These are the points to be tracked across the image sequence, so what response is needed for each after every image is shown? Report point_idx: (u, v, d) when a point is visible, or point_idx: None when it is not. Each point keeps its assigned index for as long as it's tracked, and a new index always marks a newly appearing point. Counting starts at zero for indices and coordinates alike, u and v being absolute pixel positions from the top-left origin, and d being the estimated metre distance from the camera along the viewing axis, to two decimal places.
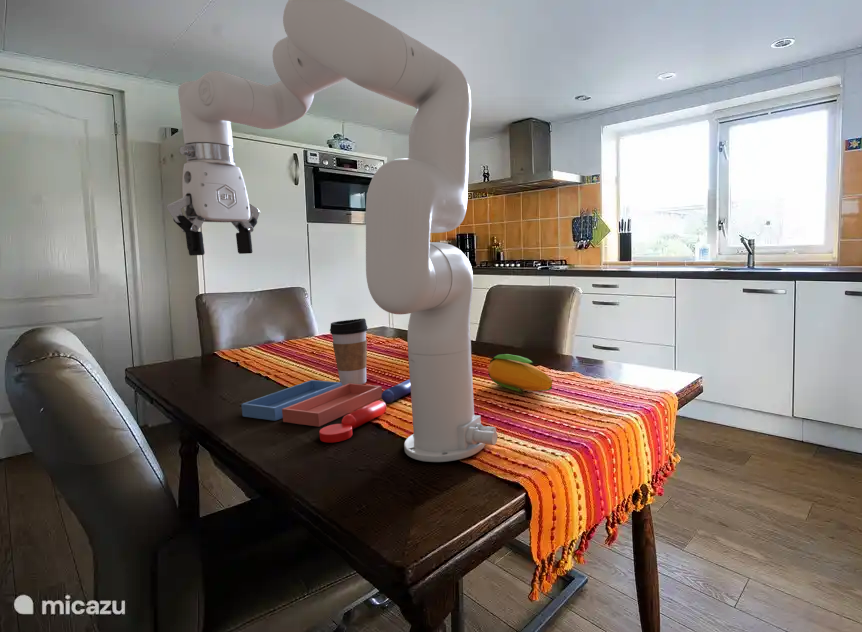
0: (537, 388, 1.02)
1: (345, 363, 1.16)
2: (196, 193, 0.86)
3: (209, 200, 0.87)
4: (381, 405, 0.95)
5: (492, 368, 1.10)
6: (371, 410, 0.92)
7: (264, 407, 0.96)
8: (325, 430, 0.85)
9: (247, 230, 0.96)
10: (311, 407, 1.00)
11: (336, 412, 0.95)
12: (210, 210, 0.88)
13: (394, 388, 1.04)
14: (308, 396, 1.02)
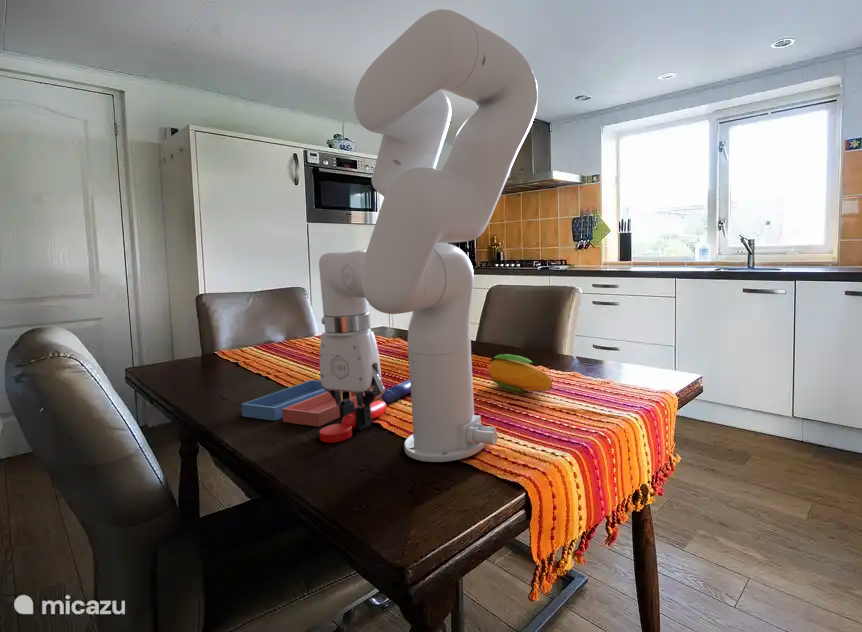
0: (537, 388, 1.02)
1: None
2: None
3: (325, 371, 0.87)
4: (381, 405, 0.95)
5: (492, 368, 1.10)
6: (371, 410, 0.92)
7: (264, 407, 0.96)
8: (325, 430, 0.85)
9: None
10: (311, 407, 1.00)
11: (336, 412, 0.95)
12: (326, 380, 0.88)
13: (394, 388, 1.04)
14: (308, 396, 1.02)
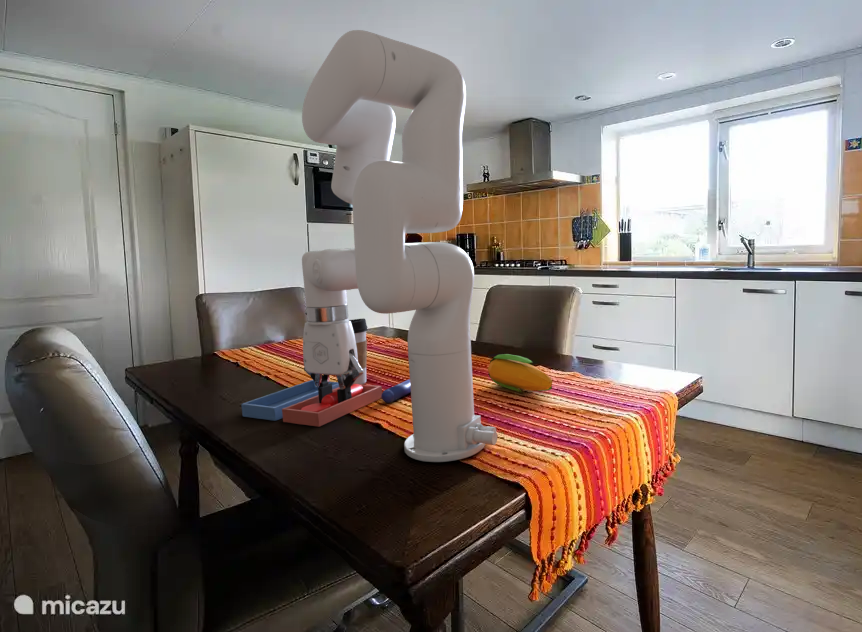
0: (537, 388, 1.02)
1: None
2: None
3: (308, 356, 0.98)
4: (358, 388, 1.05)
5: (492, 368, 1.10)
6: None
7: (264, 407, 0.96)
8: (306, 408, 0.95)
9: None
10: None
11: (336, 412, 0.95)
12: (308, 365, 0.98)
13: (394, 388, 1.04)
14: (308, 396, 1.02)
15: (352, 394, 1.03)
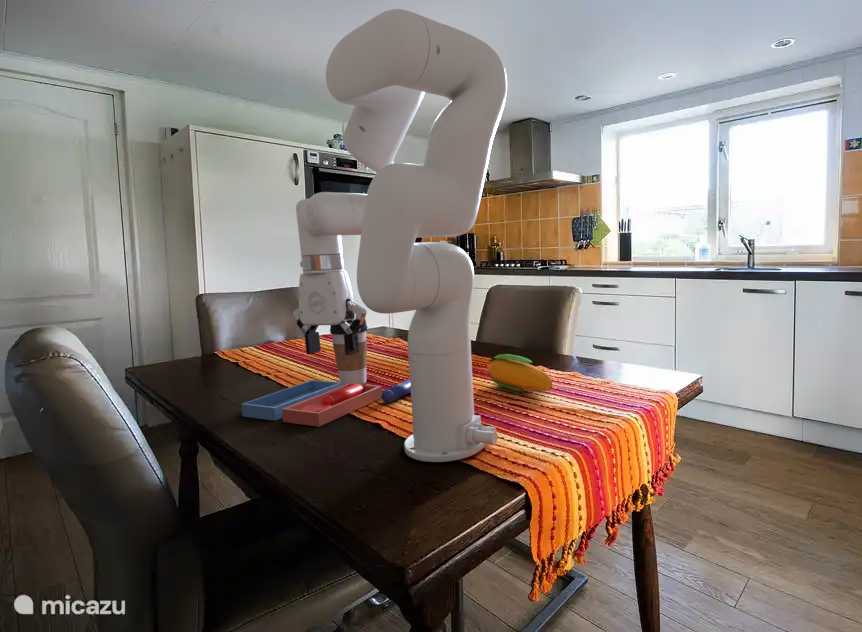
0: (537, 388, 1.02)
1: (345, 363, 1.16)
2: None
3: (304, 308, 0.96)
4: (358, 388, 1.05)
5: (492, 368, 1.10)
6: (348, 391, 1.03)
7: (264, 407, 0.96)
8: (306, 408, 0.95)
9: None
10: None
11: (336, 412, 0.95)
12: (304, 317, 0.97)
13: (394, 388, 1.04)
14: (308, 396, 1.02)
15: (352, 394, 1.03)
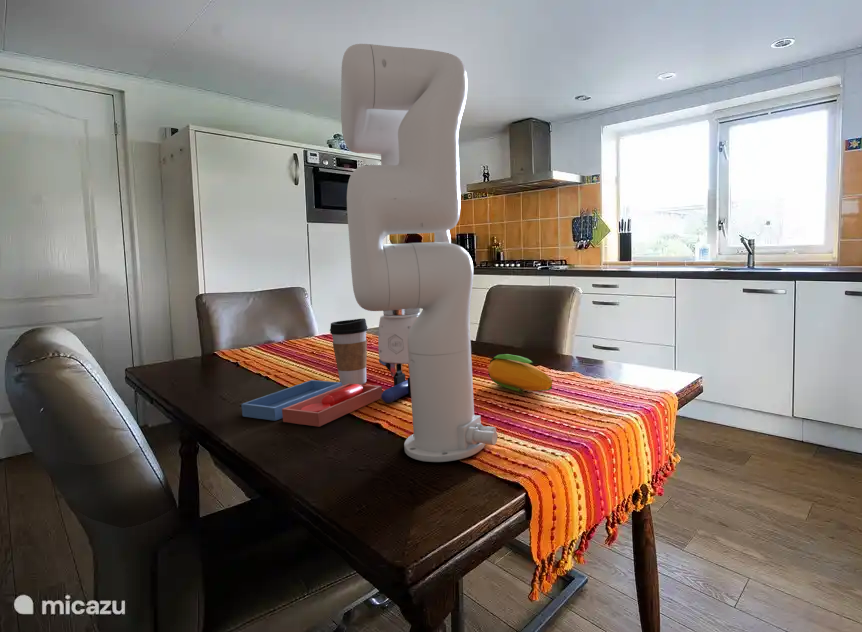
0: (537, 388, 1.02)
1: (345, 363, 1.16)
2: None
3: (383, 347, 1.07)
4: (358, 388, 1.05)
5: (492, 368, 1.10)
6: (348, 391, 1.03)
7: (264, 407, 0.96)
8: (306, 408, 0.95)
9: None
10: None
11: (336, 412, 0.95)
12: (383, 355, 1.07)
13: (394, 388, 1.04)
14: (308, 396, 1.02)
15: (352, 394, 1.03)
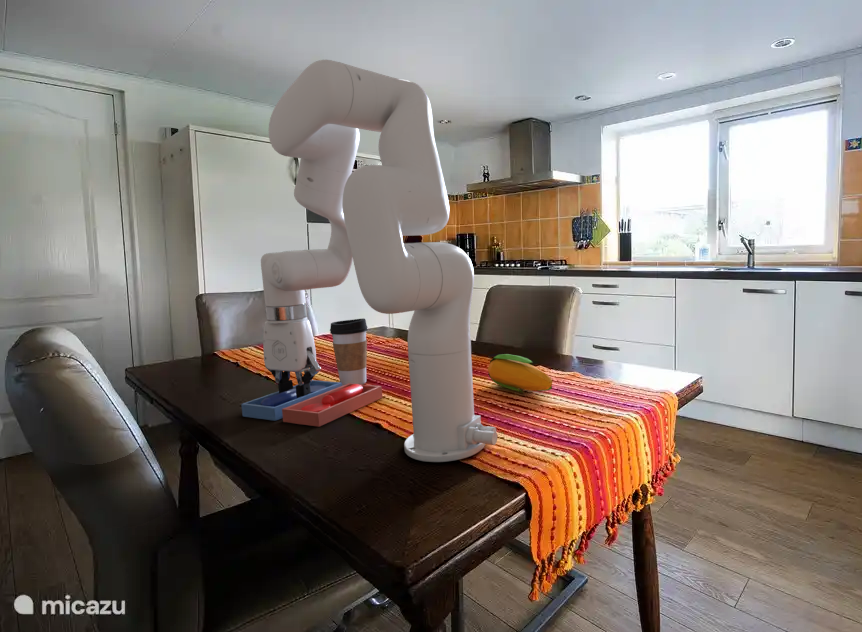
0: (537, 388, 1.02)
1: (345, 363, 1.16)
2: None
3: (267, 354, 1.02)
4: (358, 388, 1.05)
5: (492, 368, 1.10)
6: (348, 391, 1.03)
7: (264, 407, 0.96)
8: (306, 408, 0.95)
9: None
10: None
11: (336, 412, 0.95)
12: (268, 362, 1.02)
13: (275, 396, 1.00)
14: (308, 396, 1.02)
15: (352, 394, 1.03)
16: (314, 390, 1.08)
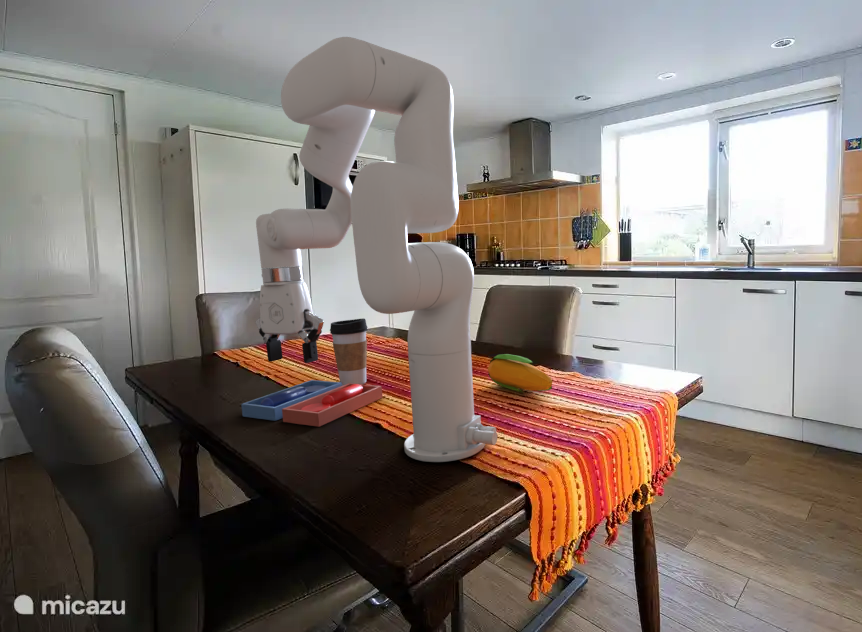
0: (537, 388, 1.02)
1: (345, 363, 1.16)
2: None
3: (264, 317, 1.01)
4: (358, 388, 1.05)
5: (492, 368, 1.10)
6: (348, 391, 1.03)
7: (264, 407, 0.96)
8: (306, 408, 0.95)
9: None
10: None
11: (336, 412, 0.95)
12: (265, 326, 1.01)
13: (275, 396, 1.00)
14: (308, 396, 1.02)
15: (352, 394, 1.03)
16: (314, 390, 1.08)
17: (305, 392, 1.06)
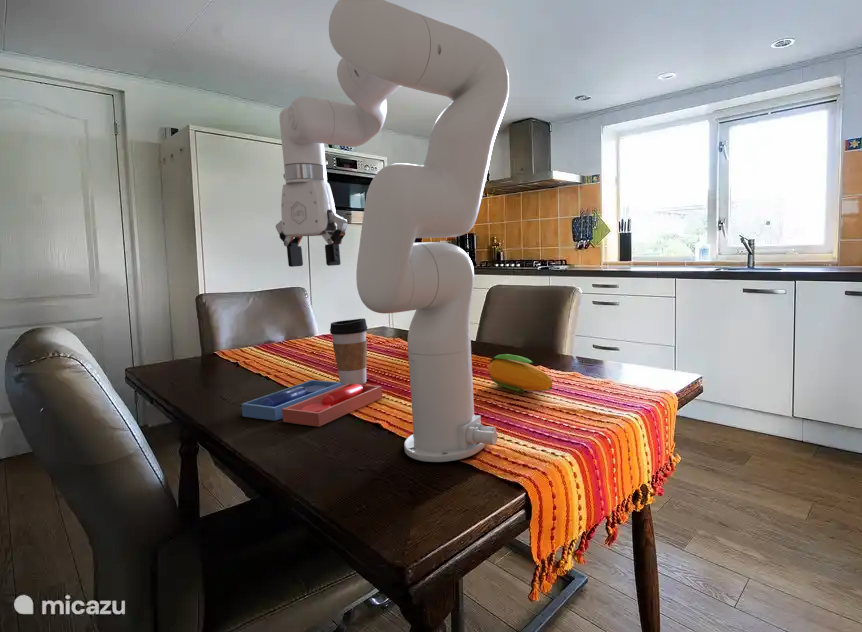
0: (537, 388, 1.02)
1: (345, 363, 1.16)
2: None
3: (286, 218, 0.98)
4: (358, 388, 1.05)
5: (492, 368, 1.10)
6: (348, 391, 1.03)
7: (264, 407, 0.96)
8: (306, 408, 0.95)
9: None
10: None
11: (336, 412, 0.95)
12: (287, 227, 0.98)
13: (275, 396, 1.00)
14: (308, 396, 1.02)
15: (352, 394, 1.03)
16: (314, 390, 1.08)
17: (305, 392, 1.06)
